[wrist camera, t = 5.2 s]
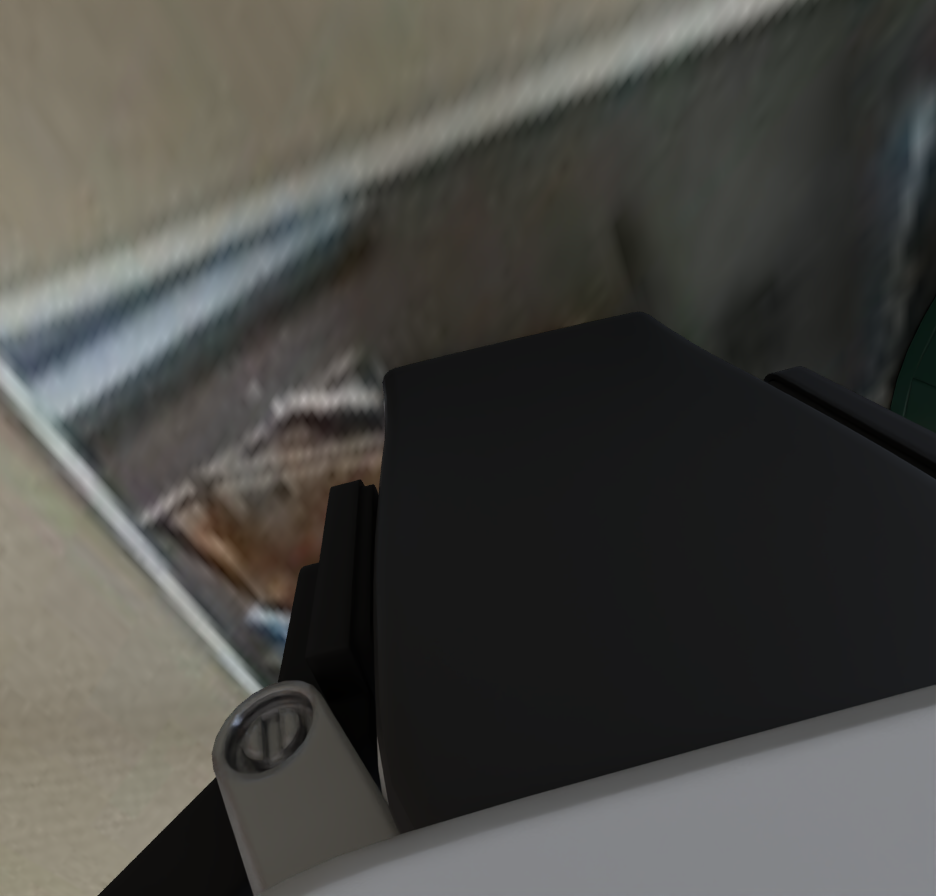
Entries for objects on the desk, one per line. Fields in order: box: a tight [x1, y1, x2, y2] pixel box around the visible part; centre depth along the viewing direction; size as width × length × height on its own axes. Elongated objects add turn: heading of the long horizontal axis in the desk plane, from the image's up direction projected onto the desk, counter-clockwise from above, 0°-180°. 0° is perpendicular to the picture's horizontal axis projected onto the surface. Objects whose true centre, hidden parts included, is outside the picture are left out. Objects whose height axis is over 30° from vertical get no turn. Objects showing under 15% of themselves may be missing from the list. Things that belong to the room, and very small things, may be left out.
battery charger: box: [373, 312, 936, 834], centre depth 9 cm, size 7×4×11 cm, turn 101°
